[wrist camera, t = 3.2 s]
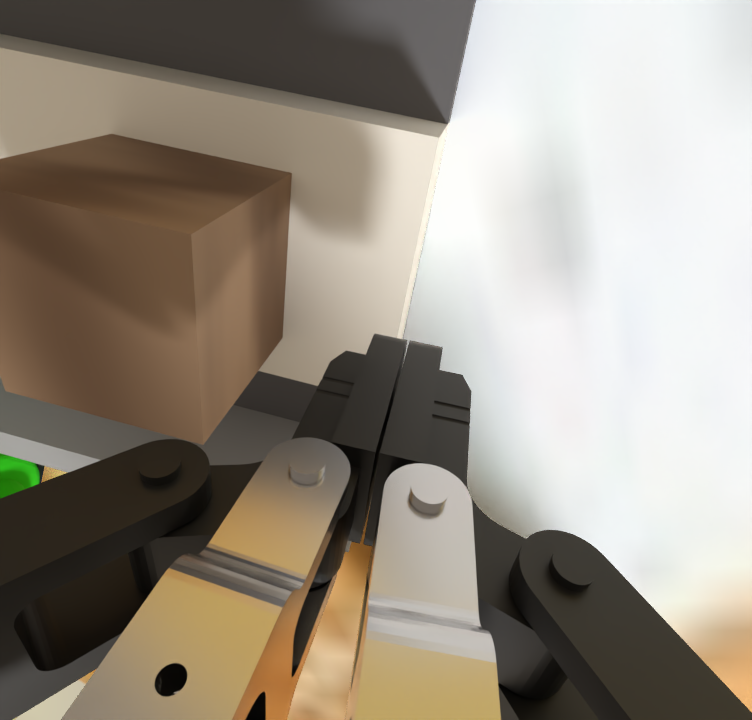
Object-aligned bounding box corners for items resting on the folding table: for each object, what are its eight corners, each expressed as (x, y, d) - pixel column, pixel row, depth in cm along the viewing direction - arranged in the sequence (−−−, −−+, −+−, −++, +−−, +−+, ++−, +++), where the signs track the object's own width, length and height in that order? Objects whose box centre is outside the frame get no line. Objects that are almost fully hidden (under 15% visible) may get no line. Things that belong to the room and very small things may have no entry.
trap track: (504, -131, 11) (509, -276, 6) (377, 453, 21) (340, 577, 16) (-325, -260, 13) (-836, -450, 8) (-76, 333, 23) (-232, 412, 18)
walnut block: (291, 172, 13) (191, 234, 8) (282, 337, 15) (203, 444, 11) (111, 133, 13) (-68, 174, 9) (133, 300, 16) (5, 390, 12)
